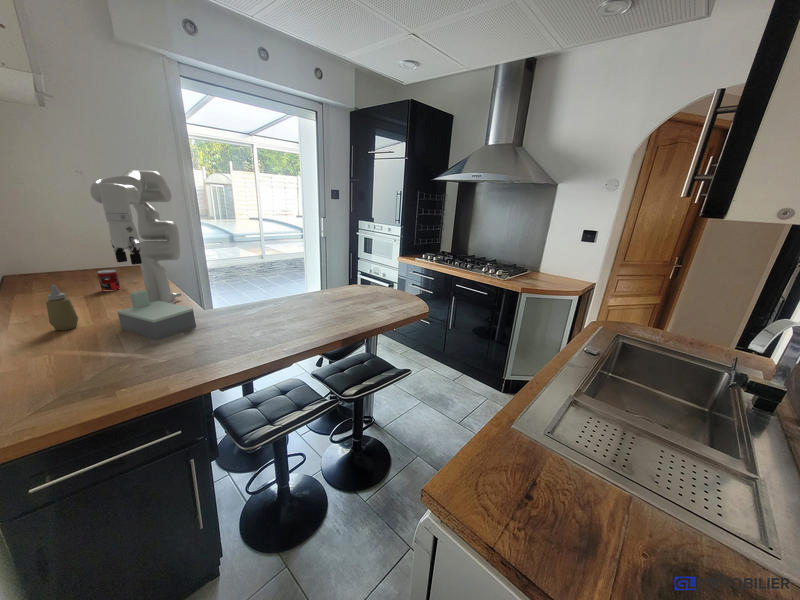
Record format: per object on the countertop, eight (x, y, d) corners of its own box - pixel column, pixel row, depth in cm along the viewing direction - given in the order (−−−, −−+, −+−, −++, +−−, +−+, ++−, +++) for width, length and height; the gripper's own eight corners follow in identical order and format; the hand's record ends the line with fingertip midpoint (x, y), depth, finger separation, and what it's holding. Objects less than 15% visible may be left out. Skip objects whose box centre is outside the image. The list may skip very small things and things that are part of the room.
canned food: (98, 290, 174) (93, 271, 171) (114, 287, 182) (110, 269, 178) (108, 292, 172) (103, 273, 169) (123, 288, 180) (119, 270, 176)
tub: (162, 319, 137) (158, 302, 135) (196, 328, 129) (193, 310, 127) (122, 331, 124) (117, 313, 121) (158, 342, 116) (153, 322, 113)
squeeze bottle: (46, 333, 120) (31, 288, 115) (61, 325, 128) (48, 283, 122) (72, 331, 123) (58, 287, 117) (85, 323, 130) (73, 282, 125)
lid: (159, 304, 135) (155, 287, 132) (193, 311, 127) (190, 294, 125) (118, 314, 121) (113, 296, 119) (154, 324, 114) (149, 304, 111)
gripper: (144, 218, 117) (153, 263, 122) (118, 217, 123) (127, 259, 128) (120, 219, 110) (131, 266, 115) (94, 217, 116) (105, 262, 121)
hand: (129, 262), depth 121 cm, fingers open, 9 cm apart
